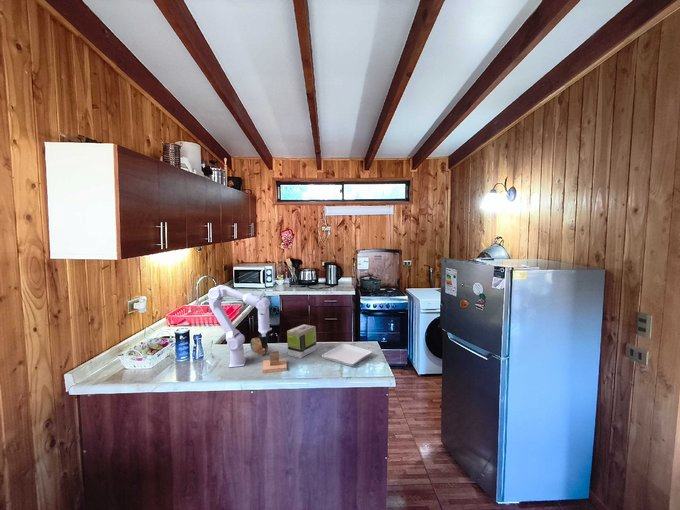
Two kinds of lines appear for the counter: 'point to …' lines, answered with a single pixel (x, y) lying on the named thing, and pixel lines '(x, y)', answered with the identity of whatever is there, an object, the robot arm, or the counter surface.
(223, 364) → the counter surface
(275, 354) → the walnut block
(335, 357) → the salad plate
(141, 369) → the counter surface
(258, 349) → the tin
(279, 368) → the terracotta trivet
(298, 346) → the tea box
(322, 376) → the counter surface
